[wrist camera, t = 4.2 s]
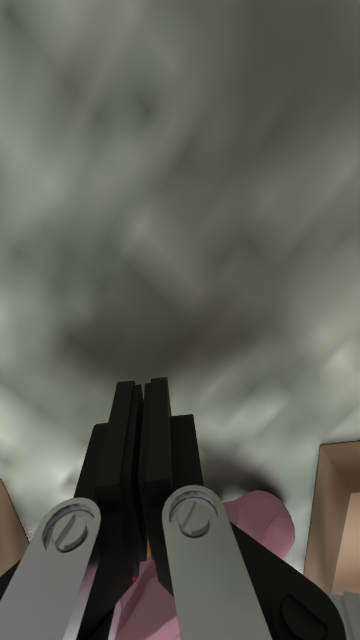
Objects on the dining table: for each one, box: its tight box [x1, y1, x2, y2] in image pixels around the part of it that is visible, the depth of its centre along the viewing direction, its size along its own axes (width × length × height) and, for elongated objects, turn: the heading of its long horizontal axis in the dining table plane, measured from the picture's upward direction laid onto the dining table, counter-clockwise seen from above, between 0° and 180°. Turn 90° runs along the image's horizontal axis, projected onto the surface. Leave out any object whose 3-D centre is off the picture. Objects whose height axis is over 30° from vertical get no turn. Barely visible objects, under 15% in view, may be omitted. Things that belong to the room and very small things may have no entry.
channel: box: [0, 441, 360, 595], centre depth 16 cm, size 14×19×2 cm
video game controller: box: [115, 490, 295, 640], centre depth 14 cm, size 10×5×7 cm, turn 136°
